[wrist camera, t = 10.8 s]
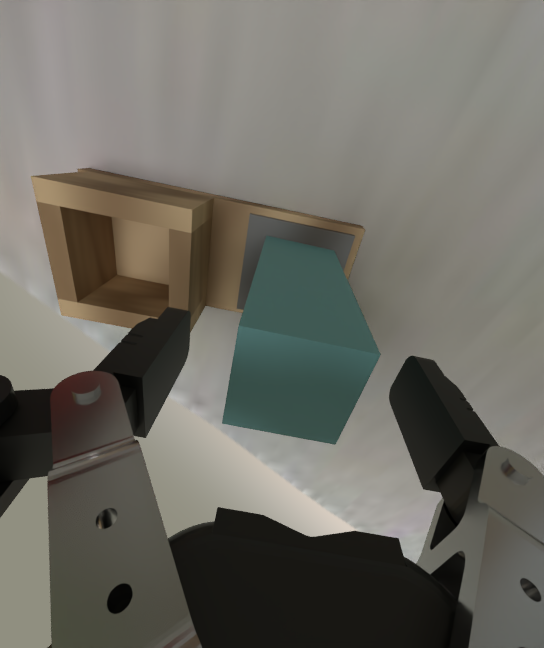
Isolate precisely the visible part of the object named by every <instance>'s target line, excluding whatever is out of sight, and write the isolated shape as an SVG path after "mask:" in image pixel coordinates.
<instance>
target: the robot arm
mask: <svg viewBox="0 0 544 648" xmlns="http://www.w3.org/2000/svg"><path fill="white" fill-rule="evenodd" d="M190 323H191V313H190V311H187V310H182V309H177V308H172V307H167V308H166V309H165V310H164V312H163V313H162V314H161V315H160V316H159V318H158V319H155V318H148V319H146V320H144V321H142V322H140V323H138V324H136V325H135V326H134V327H133V328H132V330H131V331H130V332H129V333H128V335H126V336H125V337H124V338H123V339H122V340H121V343H120V342H119V343H118V345H117V346H116V347H115V348H114V349H113V350H112V351H111V352H110V353H109V354H108V355H107V356H106V357H105V359H104V360H103V361H102V362H101V363H100V364H99V365H98V366H97V367H96V368H95V369H94V370H93V371H86V372H81V373H77V374H75V375H72V376H70V377H68V378H66V379H64V380H62V381H61V382H60V383H59V384H58V385H57V386H56V387H55V388H53V389H39V390H20V391H14V390H13V387H12V384H11V382H10V380H9V379H8V378H6V377H4V376H2V375H0V517H1V516H2V515H3V513H4V512H5V511H6V509H7V508H8V507H9V505H10V504H11V503H12V501H13V500H14V499H15V497H16V496H17V495H18V493H19V492H20V491H21V489H22V488H23V486H24V485H25V484H26V483H27V481H28V480H29V479H30V478H35V477H43V476H48V519H49V520H48V523H49V560H50V598H51V638H52V644H51V645H50V646H49V647H48V648H544V476H543V475H542V474H541V472H540V471H539V470H538V469H537V468H536V467H535V466H534V465H533V464H532V463H530V462H529V461H528V460H527V459H525V458H524V457H522V456H521V455H519V454H518V453H516V452H514V451H512V450H510V449H507V448H504V447H500V446H499V445H498V444H497V442H496V441H495V439H494V438H493V437H492V435H491V434H490V432H489V431H488V430H487V428H486V427H485V425H484V424H483V422H482V421H481V420H480V418H479V417H478V415H477V414H476V412H473V408H472V407H471V405H470V404H469V403H468V402H467V401H466V398H465V397H464V395H463V394H462V393H461V391H460V390H459V388H458V387H457V386H456V385H455V384H453V383H452V382H451V381H450V380H449V379H448V378H447V377H446V376H444V374H443V373H442V371H441V370H440V368H439V367H438V365H437V364H436V363H435V361H433V360H430V359H425V358H420V357H415V356H410V357H408V358H407V359H406V361H405V363H404V364H403V366H402V368H401V370H400V372H399V374H398V375H397V377H396V379H395V381H394V383H393V384H392V386H391V389H390V394H389V400H390V404H391V407H392V409H393V412H394V415H395V417H396V420H397V422H398V425H399V428H400V430H401V433H402V435H403V438H404V441H405V443H406V446H407V448H408V451H409V453H410V456H411V459H412V461H413V464H414V466H415V469H416V472H417V474H418V477H419V479H420V482H421V485H422V487H423V489H425V490H430V491H436V492H441V495H442V497H443V498H442V499H441V501H440V502H439V503H438V504H437V507H436V510H435V513H434V516H433V519H432V522H431V525H430V528H429V531H428V534H427V538H426V541H425V544H424V547H423V550H422V553H421V555H420V557H419V559H418V561H417V563H416V564H415V563H414V562H412V561H410V560H409V559H407V558H405V557H403V553H402V549H401V546H400V542H399V538H393V537H387V536H381V535H376V534H370V533H364V532H358V531H351V532H344V533H338V534H331V535H324V536H317V537H309V536H306V535H304V534H302V533H299V532H297V531H295V530H293V529H291V528H289V527H287V526H285V525H283V524H281V523H279V522H277V521H274V520H272V519H270V518H268V517H266V516H264V515H260V514H254V513H248V512H243V511H237V510H231V509H225V508H220V507H218V508H217V513H216V518H215V521H214V522H207V523H202V524H198V525H195V526H192V527H189V528H187V529H185V530H182V531H180V532H178V533H177V534H175V535H173V536H171V537H170V538H167V535H166V532H165V528H164V525H163V521H162V518H161V514H160V511H159V508H158V504H157V501H156V497H155V494H154V491H153V487H152V484H151V480H150V477H149V474H148V471H147V467H146V463H145V460H144V457H143V453H142V450H141V447H140V444H139V442H138V441H137V440H135V439H134V436H138V437H144V438H146V436H147V435H148V433H149V431H150V429H151V427H152V425H153V423H154V421H155V419H156V417H157V416H158V414H159V412H160V410H161V408H162V406H163V404H164V402H165V400H166V398H167V396H168V395H169V393H170V391H171V389H172V387H173V385H174V383H175V381H176V379H177V377H178V376H179V374H180V372H181V370H182V368H183V366H184V364H185V362H186V359H187V356H188V352H189V342H190Z"/></svg>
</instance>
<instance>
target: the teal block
mask: <svg viewBox="0 0 544 648" xmlns="http://www.w3.org/2000/svg"><path fill="white" fill-rule="evenodd" d="M380 355H381V354H380V352H379V350H378V348H377V345H376V343H375V341H374V339H373V336H372V334H371V332H370V330H369V328H368V325H367V323H366V321H365V319H364V316H363V314H362V312H361V310H360V307H359V305H358V303H357V301H356V298H355V296H354V294H353V292H352V289H351V287H350V285H349V283H348V280H347V278H346V276H345V274H344V271H343V269H342V267H341V265H340V262H339V260H338V258H337V256H336V253H335V251H334V250H329V249H325V248H320V247H316V246H311V245H307V244H302V243H298V242H293V241H289V240H284V239H280V238H275V237H271V236H266V238H265V242H264V245H263V248H262V251H261V255H260V258H259V261H258V265H257V268H256V271H255V274H254V278H253V281H252V284H251V287H250V291H249V294H248V297H247V300H246V304H245V307H244V310H243V313H242V317H241V320H240V323H239V327H238V333H237V339H236V345H235V351H234V357H233V362H232V368H231V374H230V380H229V386H228V392H227V398H226V404H225V409H224V415H223V421H222V424H228V425H233V426H238V427H244V428H249V429H255V430H260V431H265V432H271V433H276V434H281V435H287V436H292V437H298V438H303V439H308V440H314V441H319V442H324V443H330V444H336V442H337V440H338V438H339V436H340V434H341V432H342V430H343V428H344V426H345V425H346V423H347V421H348V419H349V417H350V415H351V413H352V411H353V409H354V407H355V405H356V403H357V401H358V399H359V397H360V395H361V393H362V391H363V389H364V387H365V385H366V383H367V381H368V379H369V377H370V375H371V373H372V371H373V369H374V367H375V365H376V363H377V361H378V359H379V357H380Z"/></svg>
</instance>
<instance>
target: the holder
mask: <svg viewBox="0 0 544 648" xmlns="http://www.w3.org/2000/svg"><path fill="white" fill-rule="evenodd" d="M31 179H32V183H33V188H34V192H35V197H36V202H37V206H38V211H39V215H40V220H41V224H42V229H43V233H44V238H45V242H46V247H47V252H48V256H49V261H50V265H51V270H52V274H53V279H54V283H55V288H56V292H57V297H58V302H59V306H60V311H61V315H63V316H68V317H74V318H79V319H84V320H90V321H95V322H100V323H106V324H111V325H116V326H122V327H127V328H133V327H134V326H135V325H136V324H138V323H140V322H142V321H144V320H146V319H148V318H155V319H158V318H159V316H160V315H161V314H162V313H163V312H164V310H165V309H166V308H167V307H172V308H177V309H182V310H187V311H190V313H191V323H190V332H191V331H192V329H193V327H194V325H195V323H196V322H197V320H198V318H199V316H200V315H201V313H202V311H203V309H204V308H205V306H210V307H215V308H220V309H225V310H230V311H235V312H241V313H243V310H244V307H245V304H246V300H247V297H248V294H249V291H250V287H251V284H252V281H253V278H254V274H255V271H256V268H257V265H258V261H259V258H260V255H261V251H262V248H263V245H264V242H265V238H266V236H271V237H275V238H280V239H284V240H289V241H293V242H298V243H302V244H307V245H311V246H316V247H320V248H325V249H329V250H334V251H335V253H336V256H337V258H338V260H339V262H340V265H341V267H342V269H343V271H344V274H345V276H346V278H347V280H348V278H349V275H350V272H351V269H352V266H353V263H354V260H355V257H356V255H357V252H358V249H359V246H360V243H361V240H362V237H363V234H364V232H365V229H364V228H363V227H362V226H360V225H355V224H351V223H346V222H341V221H336V220H332V219H327V218H322V217H318V216H313V215H308V214H303V213H299V212H294V211H289V210H284V209H280V208H275V207H270V206H266V205H261V204H256V203H251V202H247V201H242V200H237V199H232V198H228V197H223V196H218V195H214V194H209V193H204V192H199V191H195V190H190V189H185V188H180V187H176V186H171V185H166V184H161V183H157V182H152V181H147V180H143V179H138V178H133V177H128V176H124V175H119V174H114V173H109V172H105V171H100V170H95V169H91V168H84V169H78V172H74V173H63V174H51V175H39V176H31Z"/></svg>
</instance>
